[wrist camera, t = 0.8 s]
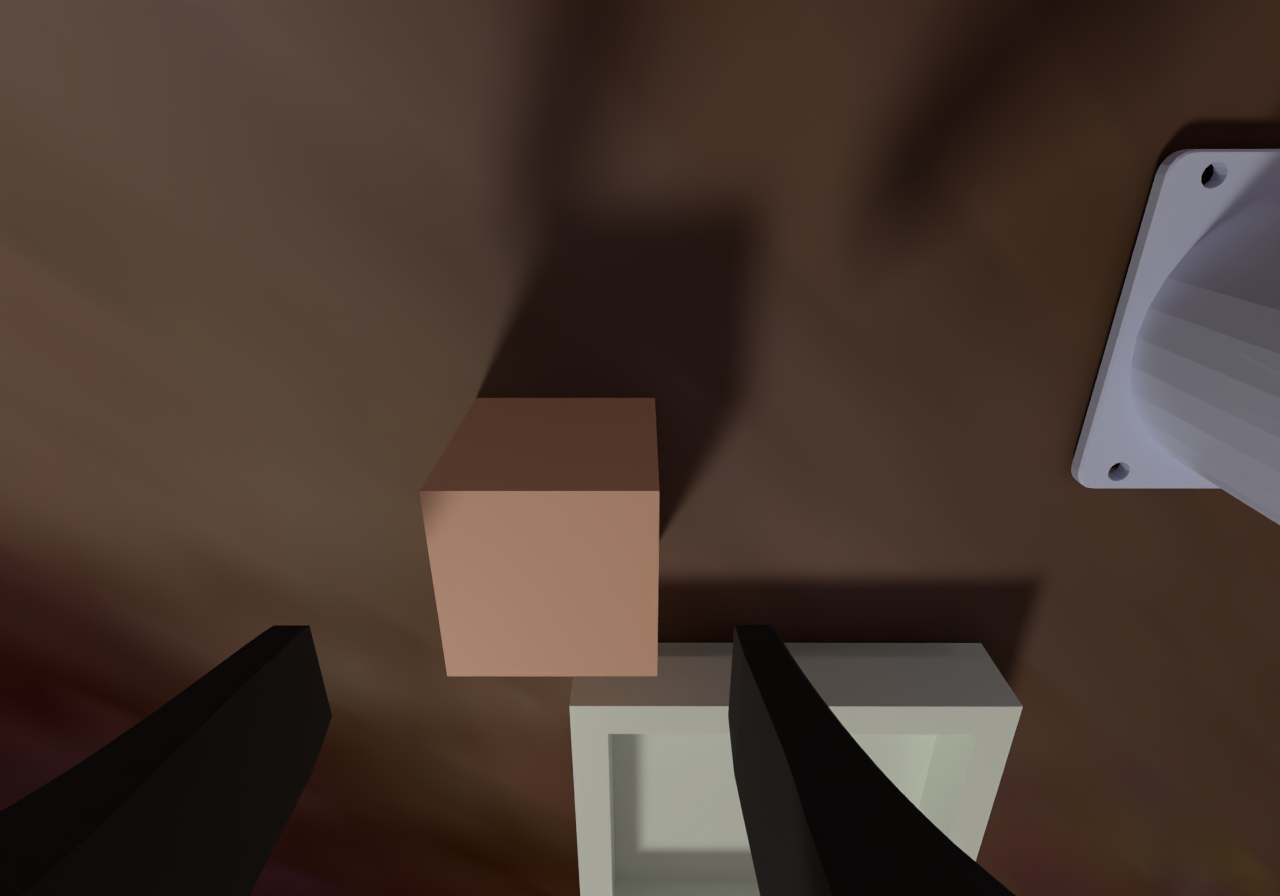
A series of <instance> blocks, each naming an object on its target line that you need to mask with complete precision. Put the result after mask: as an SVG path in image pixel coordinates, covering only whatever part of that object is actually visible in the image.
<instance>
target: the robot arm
mask: <svg viewBox="0 0 1280 896" xmlns="http://www.w3.org/2000/svg"><path fill="white" fill-rule="evenodd" d="M1210 164H1212V166H1213V167H1214V168H1213V175H1212V177H1211V179H1210V180H1209V181H1208V182H1207V183H1206V184H1205V185H1203V184H1202V183H1201V176H1202V174H1203V172H1204V170H1205V168H1207V167H1208V166H1209V165H1210ZM1116 463H1120V465H1119V467H1118V469H1117V470H1115V471H1114V472H1113V473H1109V474H1108V471H1109V470H1110V468H1111V467H1112V466H1113V465H1115V464H1116ZM1071 473H1072V475H1073V477H1074V478H1075V479H1076V480H1077V481H1078V482H1079V483H1081V484H1082V485H1084V486H1085V487H1088V488H1221V489H1223V490H1224V491H1226V492H1228V493H1229V494H1231V495H1232V496H1234V497H1236V498H1237V499H1239V500H1240V501H1242V502H1244V503H1245V504H1247V505H1248V506H1250V507H1252V508H1253V509H1255V510H1256V511H1258V512H1260V513H1261V514H1263V515H1264V516H1266V517H1268V518H1269V519H1271V520H1272V521H1274V522H1276V523H1277V524H1279V525H1280V149H1184V150H1179V151H1176V152H1174V153H1173V154H1171V155H1169V156H1168V157H1167V158H1166V159H1165V160H1164V161H1163V162H1162V163H1161V164H1160V166H1159V169H1158V171H1157V173H1156V175H1155V179H1154V182H1153V186H1152V189H1151V192H1150V196H1149V199H1148V203H1147V206H1146V210H1145V213H1144V217H1143V220H1142V224H1141V227H1140V231H1139V234H1138V238H1137V241H1136V244H1135V248H1134V251H1133V255H1132V258H1131V262H1130V265H1129V269H1128V272H1127V276H1126V279H1125V283H1124V286H1123V289H1122V293H1121V296H1120V300H1119V303H1118V307H1117V310H1116V314H1115V317H1114V321H1113V324H1112V328H1111V331H1110V335H1109V338H1108V341H1107V345H1106V348H1105V352H1104V355H1103V359H1102V362H1101V366H1100V369H1099V373H1098V376H1097V380H1096V383H1095V386H1094V390H1093V393H1092V397H1091V400H1090V404H1089V407H1088V411H1087V414H1086V418H1085V421H1084V425H1083V428H1082V432H1081V435H1080V438H1079V442H1078V445H1077V449H1076V452H1075V456H1074V459H1073V463H1072V468H1071ZM331 718H332V714H331V710H330V706H329V702H328V698H327V694H326V690H325V686H324V682H323V678H322V674H321V670H320V666H319V662H318V658H317V654H316V650H315V646H314V642H313V638H312V634H311V630H310V626H272V627H271V628H269V629H268V630H266V631H265V632H263V633H262V634H260V635H259V636H257V637H256V638H255V639H253V640H252V641H250V642H249V643H248V644H246V645H245V646H243V647H242V648H241V649H239V650H238V651H237V652H235V653H234V654H233V655H231V656H230V657H229V658H227V659H226V660H225V661H223V662H222V663H220V664H219V665H218V666H216V667H215V668H214V669H212V670H211V671H210V672H208V673H207V674H206V675H204V676H203V677H202V678H200V679H199V680H198V681H196V682H195V683H193V684H192V685H191V686H189V687H188V688H187V689H185V690H184V691H183V692H181V693H180V694H178V695H177V696H176V697H174V698H173V699H172V700H170V701H169V702H168V703H166V704H165V705H163V706H162V707H161V708H159V709H158V710H157V711H155V712H154V713H152V714H151V715H149V716H148V717H147V718H145V719H144V720H142V721H141V722H139V723H138V724H136V725H135V726H133V727H132V728H130V729H129V730H128V731H126V732H125V733H123V734H122V735H120V736H119V737H117V738H116V739H114V740H113V741H111V742H110V743H109V744H107V745H106V746H104V747H103V748H101V749H100V750H98V751H97V752H95V753H94V754H92V755H91V756H90V757H88V758H87V759H85V760H84V761H82V762H81V763H79V764H77V765H76V766H74V767H73V768H71V769H70V770H68V771H67V772H65V773H63V774H62V775H60V776H59V777H57V778H55V779H54V780H52V781H51V782H49V783H47V784H46V785H44V786H43V787H41V788H39V789H37V790H36V791H34V792H32V793H31V794H29V795H27V796H26V797H24V798H22V799H21V800H19V801H17V802H16V803H14V804H12V805H11V806H9V807H7V808H6V809H4V810H2V811H1V812H0V896H249V895H250V893H251V891H252V889H253V887H254V885H255V883H256V881H257V879H258V877H259V876H260V874H261V872H262V870H263V868H264V866H265V864H266V862H267V860H268V858H269V856H270V854H271V852H272V850H273V848H274V847H275V845H276V843H277V841H278V839H279V837H280V835H281V833H282V831H283V829H284V827H285V825H286V823H287V821H288V819H289V817H290V815H291V813H292V811H293V809H294V808H295V806H296V804H297V802H298V800H299V798H300V796H301V794H302V792H303V790H304V788H305V786H306V784H307V782H308V780H309V777H310V775H311V773H312V770H313V768H314V765H315V762H316V760H317V757H318V755H319V752H320V749H321V747H322V744H323V741H324V738H325V735H326V732H327V729H328V726H329V723H330V721H331ZM728 720H729V730H730V740H731V750H732V759H733V768H734V776H735V781H736V785H737V790H738V795H739V800H740V804H741V809H742V814H743V819H744V823H745V828H746V833H747V837H748V842H749V846H750V851H751V856H752V860H753V865H754V870H755V874H756V879H757V883H758V888H759V893H760V896H1015V895H1014V894H1013V893H1012V892H1010V891H1009V890H1008V889H1007V888H1006V887H1005V886H1003V885H1002V884H1001V883H1000V882H999V881H998V880H996V879H995V878H994V877H993V876H992V875H991V874H989V873H988V872H987V871H986V870H985V869H984V868H982V867H981V866H980V865H979V864H978V863H976V862H975V861H974V860H973V859H972V858H971V857H969V856H968V855H967V854H966V853H965V852H964V851H962V850H961V849H960V848H959V847H958V846H957V845H955V844H954V843H953V842H952V841H951V840H950V839H949V838H948V837H947V836H946V835H945V834H944V833H943V832H942V831H941V830H939V829H938V828H937V827H936V826H935V825H934V824H933V823H932V822H931V821H930V820H929V819H928V818H927V817H926V816H925V815H924V814H923V813H922V812H921V811H920V810H919V809H918V808H917V807H916V806H915V805H914V804H913V803H912V802H911V801H910V800H909V799H908V798H907V797H906V796H905V795H904V794H903V793H902V792H901V791H900V790H899V789H898V788H897V787H896V786H895V785H894V784H893V783H892V781H891V780H890V779H889V778H888V777H887V776H886V775H885V774H884V773H883V772H882V771H881V769H880V768H879V767H878V766H877V765H876V764H875V763H874V762H873V760H872V759H871V758H870V757H869V756H868V755H867V753H866V752H865V751H864V750H863V749H862V748H861V747H860V745H859V744H858V743H857V742H856V741H855V739H854V738H853V737H852V736H851V735H850V733H849V732H848V731H847V730H846V728H845V727H844V726H843V725H842V723H841V722H840V721H839V720H838V718H837V717H836V716H835V714H834V713H833V712H832V711H831V709H830V708H829V707H828V705H827V704H826V703H825V701H824V700H823V699H822V698H821V696H820V695H819V694H818V692H817V691H816V689H815V688H814V687H813V685H812V684H811V683H810V681H809V680H808V678H807V677H806V675H805V674H804V673H803V671H802V670H801V668H800V667H799V665H798V664H797V662H796V661H795V659H794V658H793V656H792V655H791V653H790V652H789V650H788V649H787V647H786V646H785V644H784V642H783V641H782V639H781V638H780V636H779V634H778V633H777V631H776V630H775V629H774V628H773V627H772V626H771V625H734V637H733V652H732V666H731V681H730V695H729V710H728Z"/></svg>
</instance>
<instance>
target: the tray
mask: <svg viewBox="0 0 1280 896" xmlns="http://www.w3.org/2000/svg"><path fill="white" fill-rule="evenodd" d="M784 644H785V646H786V647H787V649H788V650H789V652H790V653H791V655H792V656H793V658H794V659H795V661H796V662H797V664H798V665H799V667H800V668H801V670H802V671H803V673H804V674H805V675H806V677H807V678H808V680H809V681H810V683H811V684H812V685H813V687H814V688H815V689H816V691H817V692H818V694H819V695H820V696H821V698H822V699H823V700H824V701H825V703H826V704H827V705H828V707H829V708H830V709H831V711H832V712H833V713H834V714H835V716H836V717H837V718H838V720H839V721H840V722H841V723H842V725H843V726H844V727H845V728H846V730H847V731H848V732H849V733H850V735H851V736H852V737H853V738H854V739H855V741H856V742H857V743H858V744H859V745H860V747H861V748H862V749H863V750H864V751H865V752H866V753H867V755H868V756H869V757H870V758H871V759H872V760H873V762H874V763H875V764H876V765H877V766H878V767H879V768H880V769H881V771H882V772H883V773H884V774H885V775H886V776H887V777H888V778H889V779H890V780H891V781H892V783H893V784H894V785H895V786H896V787H897V788H898V789H899V790H900V791H901V792H902V793H903V794H904V795H905V796H906V797H907V798H908V799H909V800H910V801H911V802H912V803H913V804H914V805H915V806H916V807H917V808H918V809H919V810H920V811H921V812H922V813H923V814H924V815H925V816H926V817H927V818H928V819H929V820H930V821H931V822H932V823H933V824H934V825H935V826H936V827H937V828H938V829H939V830H941V831H942V832H943V833H944V834H945V835H946V836H947V837H948V838H949V839H950V840H951V841H952V842H953V843H954V844H955V845H957V846H958V847H959V848H960V849H961V850H962V851H964V852H965V853H966V854H967V855H968V856H969V857H971V858H972V859H973V860H974V861H975V862H976V858H977V855H978V852H979V848H980V845H981V842H982V839H983V835H984V832H985V829H986V826H987V822H988V819H989V816H990V812H991V809H992V806H993V803H994V799H995V796H996V793H997V790H998V786H999V783H1000V780H1001V776H1002V773H1003V770H1004V767H1005V763H1006V760H1007V757H1008V753H1009V750H1010V747H1011V744H1012V740H1013V737H1014V734H1015V731H1016V727H1017V724H1018V721H1019V717H1020V714H1021V711H1022V708H1023V706H1022V705H1021V703H1020V702H1019V700H1018V699H1017V697H1016V696H1015V694H1014V693H1013V691H1012V690H1011V688H1010V686H1009V685H1008V683H1007V682H1006V680H1005V679H1004V677H1003V676H1002V674H1001V673H1000V671H999V670H998V668H997V667H996V665H995V664H994V662H993V661H992V659H991V658H990V656H989V655H988V653H987V651H986V650H985V648H984V647H983V645H982V644H981V643H784ZM732 652H733V643H658V661H657V676H573V682H572V690H571V698H570V724H571V741H572V758H573V775H574V792H575V809H576V827H577V844H578V861H579V878H580V895H581V896H760V893H759V888H758V883H757V879H756V874H755V870H754V865H753V860H752V856H751V851H750V846H749V842H748V837H747V833H746V828H745V823H744V819H743V814H742V809H741V804H740V800H739V795H738V790H737V785H736V781H735V776H734V768H733V759H732V750H731V740H730V730H729V720H728V710H729V695H730V681H731V666H732Z"/></svg>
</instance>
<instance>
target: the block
mask: <svg viewBox="0 0 1280 896" xmlns="http://www.w3.org/2000/svg"><path fill="white" fill-rule="evenodd" d="M419 493H420V499H421V506H422V513H423V519H424V526H425V532H426V539H427V545H428V552H429V559H430V565H431V572H432V578H433V585H434V591H435V598H436V605H437V611H438V618H439V624H440V631H441V637H442V644H443V650H444V657H445V664H446V670H447V676H657V661H658V576H659V470H658V450H657V429H656V408H655V398H476V399H475V401H474V403H473V404H472V406H471V407H470V409H469V411H468V412H467V414H466V416H465V417H464V419H463V421H462V422H461V424H460V425H459V427H458V429H457V430H456V432H455V434H454V435H453V437H452V438H451V440H450V442H449V443H448V445H447V447H446V448H445V450H444V451H443V453H442V455H441V456H440V458H439V460H438V461H437V463H436V464H435V466H434V468H433V469H432V471H431V473H430V474H429V476H428V478H427V479H426V481H425V482H424V484H423V486H422V487H421V489H420V491H419Z"/></svg>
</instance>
